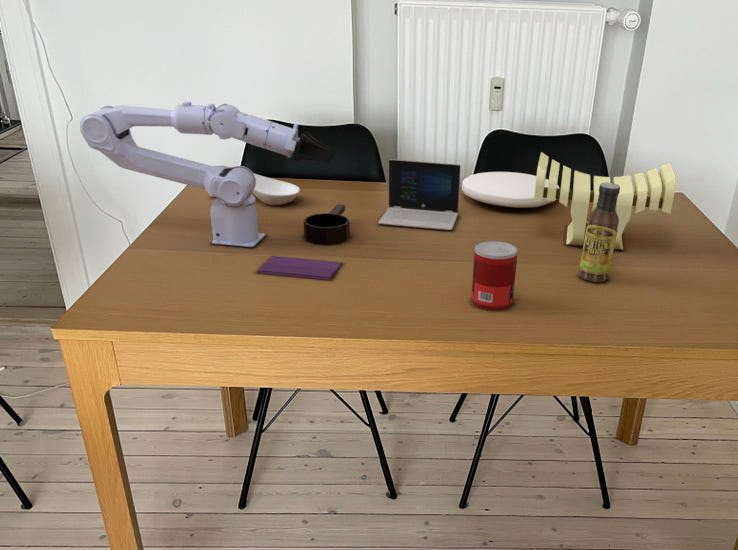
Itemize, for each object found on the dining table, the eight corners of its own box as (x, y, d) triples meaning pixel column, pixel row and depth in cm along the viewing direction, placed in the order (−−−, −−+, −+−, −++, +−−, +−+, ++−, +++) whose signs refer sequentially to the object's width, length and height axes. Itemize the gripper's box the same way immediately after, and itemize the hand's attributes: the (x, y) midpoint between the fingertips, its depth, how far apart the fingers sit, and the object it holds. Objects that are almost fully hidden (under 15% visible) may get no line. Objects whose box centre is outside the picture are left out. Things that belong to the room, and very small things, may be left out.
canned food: (518, 308, 138) (523, 254, 133) (478, 312, 136) (482, 257, 130) (504, 292, 144) (509, 239, 139) (466, 295, 142) (469, 242, 137)
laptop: (377, 225, 176) (377, 171, 169) (388, 209, 187) (388, 158, 180) (451, 232, 174) (454, 178, 168) (458, 215, 185) (460, 164, 179)
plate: (471, 164, 211) (563, 174, 207) (470, 187, 214) (560, 197, 210) (453, 179, 186) (558, 190, 182) (452, 205, 188) (555, 216, 184)
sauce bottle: (575, 280, 151) (588, 185, 142) (582, 270, 156) (595, 178, 147) (605, 286, 149) (621, 191, 139) (612, 276, 154) (627, 183, 145)
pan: (342, 246, 163) (342, 229, 161) (299, 242, 164) (298, 225, 162) (361, 221, 178) (361, 205, 176) (321, 218, 179) (320, 202, 177)
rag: (257, 273, 147) (257, 270, 147) (273, 257, 155) (272, 254, 155) (329, 280, 146) (329, 277, 146) (341, 263, 154) (341, 261, 153)
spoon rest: (306, 197, 193) (305, 170, 189) (291, 211, 183) (289, 182, 179) (222, 189, 196) (219, 163, 192) (202, 202, 186) (198, 174, 182)
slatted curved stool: (529, 245, 168) (537, 168, 160) (533, 223, 182) (541, 151, 174) (661, 258, 165) (677, 180, 156) (655, 235, 178) (669, 162, 170)
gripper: (268, 116, 144) (335, 138, 146) (278, 116, 158) (339, 136, 160) (260, 151, 146) (326, 172, 148) (271, 148, 160) (331, 168, 162)
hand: (332, 156), depth 154 cm, fingers open, 7 cm apart
